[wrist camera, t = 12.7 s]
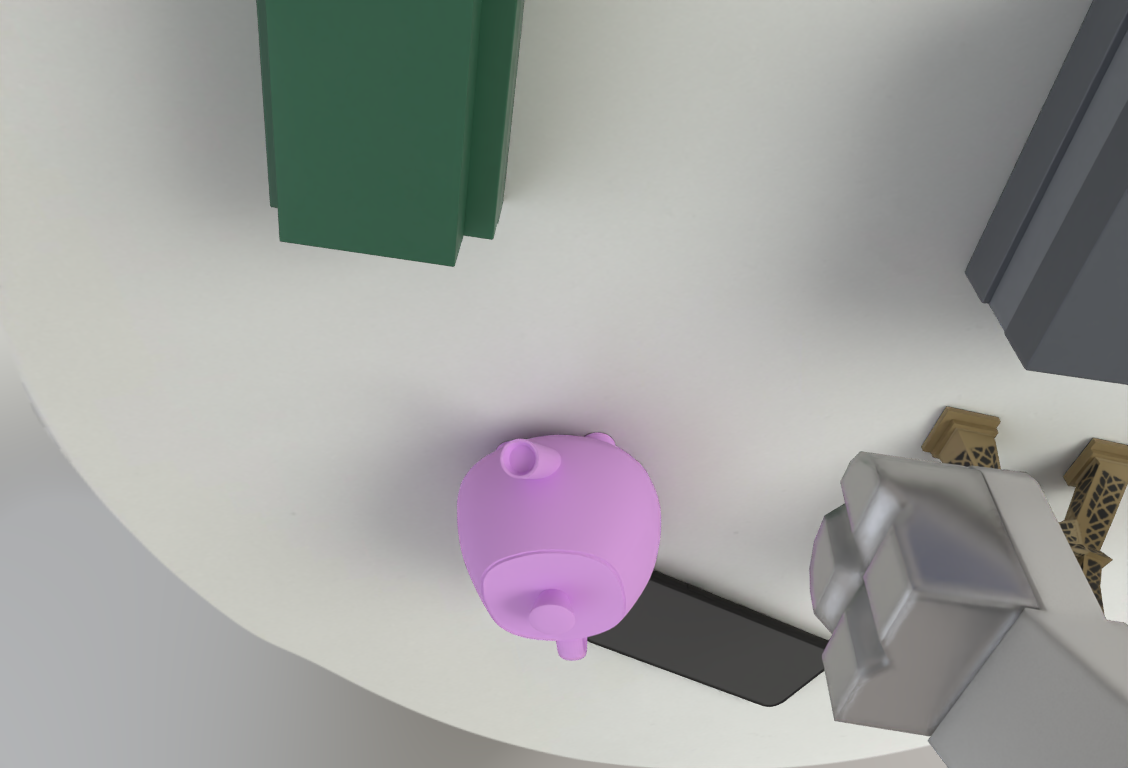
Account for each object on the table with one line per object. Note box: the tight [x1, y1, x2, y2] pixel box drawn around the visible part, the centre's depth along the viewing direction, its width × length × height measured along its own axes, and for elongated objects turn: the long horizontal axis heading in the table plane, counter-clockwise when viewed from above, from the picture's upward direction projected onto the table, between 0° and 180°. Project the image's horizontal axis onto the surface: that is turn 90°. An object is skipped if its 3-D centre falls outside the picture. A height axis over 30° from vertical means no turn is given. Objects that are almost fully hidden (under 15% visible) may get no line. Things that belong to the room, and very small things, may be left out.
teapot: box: [457, 433, 661, 660], centre depth 45 cm, size 10×15×9 cm
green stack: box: [256, 0, 524, 240], centre depth 33 cm, size 14×9×4 cm, turn 172°
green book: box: [265, 0, 482, 267], centre depth 31 cm, size 13×6×2 cm, turn 172°
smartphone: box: [587, 570, 829, 707], centre depth 56 cm, size 7×1×15 cm
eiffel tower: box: [921, 406, 1128, 613], centre depth 39 cm, size 11×11×25 cm
